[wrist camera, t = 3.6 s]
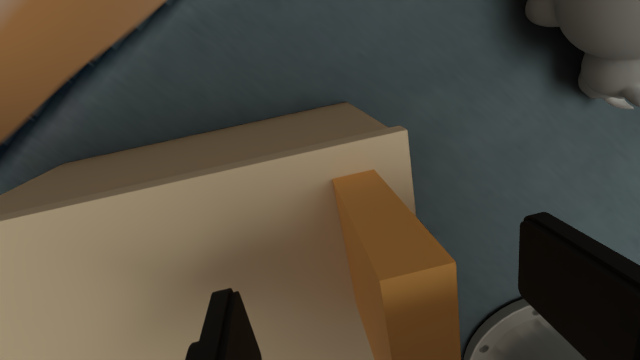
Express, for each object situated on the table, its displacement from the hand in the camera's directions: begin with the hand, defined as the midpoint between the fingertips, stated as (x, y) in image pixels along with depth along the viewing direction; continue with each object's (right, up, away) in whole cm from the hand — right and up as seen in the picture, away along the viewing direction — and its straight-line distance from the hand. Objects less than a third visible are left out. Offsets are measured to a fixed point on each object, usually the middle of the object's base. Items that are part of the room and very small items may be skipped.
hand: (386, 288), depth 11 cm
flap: (-7, -4, +4) cm, 9 cm away
